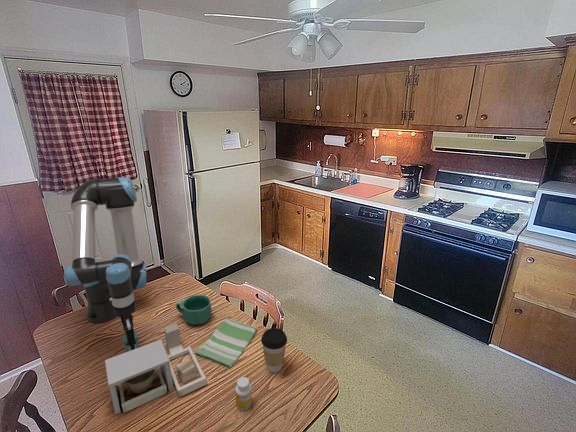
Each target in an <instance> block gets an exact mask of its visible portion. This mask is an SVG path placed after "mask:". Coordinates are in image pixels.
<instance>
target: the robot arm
mask: <svg viewBox="0 0 576 432" xmlns="http://www.w3.org/2000/svg"><path fill="white" fill-rule="evenodd" d="M137 202H138V198H137V193H136V190H135V185H134V183H133V180H132V179H131V178H129V177H122V176H121V177H110V178H93V179H89V180H87V181H85V182H83V183H82V184H80V185H79V186H78V188H77V189H76V190H75V192H74V193H73V196H72V197H71V201H70V209H71V210H72V211H73V223H72V224H73V225H72V227H73V228H72V256H71V257H72V258H71V260H72V263H71V264H72V265H69V266H67V267H65V268H64V271H63V276H64V277H63V278H64V282H65V284H67V285H66V286H69V287H75V286H83V288H84V292H85V296H86V299H87V307H86V311H85V312H86V314H85V315H86V319H87V321H88V322H90V323H92V324H100V323H101V324H102V323H105V322H110V321H112V320H113V319H115V318H120V321H121V324H122V327H123V328H122V329H123V330H124V332H125V333H124V335H125V334H126V335H127V340H128V343H126V346H127V345H128V348H129V351H131V350H134V349H137V347H136V341H135V336H134V331H135V329H134V322H133V321H134V318H133V315H132V314H133V313H134V312H135V311H136V310H137V309H136V308H137V307H136V301H135V295H134V291H137V290H140V289H143V288H145V287H146V286H147V264H146V263H144V261H143V260H142V259H141V258H140V257H139V252H138V251H139V250H138V244H137V239H136V231H135V225H134V224H135V223H134V219H133V211H132V209H133V208H134V207H135V203H137ZM103 205H104V206H105V209H106V210H108V211H109V212H110V216H111V222H112V223H111V224H112V227H113V233H114V234H113V235H114V240H115V241H114V242H115V248H116V251H117V255H115V256H114V257H113V258H112V259H110V260H109V259H108V260H102V261H96V211H97V210H98V206H103Z"/></svg>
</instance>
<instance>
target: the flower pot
mask: <svg viewBox="0 0 576 432" xmlns="http://www.w3.org/2000/svg"><path fill="white" fill-rule="evenodd" d="M155 371H156V368H155V369H153V370H150V371H148V372H146V373H143V374H141V375H138V376H136V377H133V378H131V379H129V380H126V381H124V383H125V385H126V387H127V388H128V389H129V390H131V392H133V393H135V394H139V395H141V394H144V393H146V392H148V390H149V389H150V387H151V386H152V383H153V381H154V378H155V373H156V372H155Z"/></svg>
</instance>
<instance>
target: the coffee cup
mask: <svg viewBox="0 0 576 432" xmlns="http://www.w3.org/2000/svg"><path fill="white" fill-rule="evenodd" d="M260 341H261V344H262V351H263V357H264V363H265V366H266V367H265V368H266V370H267V372H269V373H272V374H277V373H278V372H281V370H282V368H283V362H284V358H285V353H286V345H287V343H288V337H287V335H286V332H285V331H284V330H283V329H281V328H278V327H271V328H268V329H266V330H265V331H264V332H263V334H262V336H261V339H260Z"/></svg>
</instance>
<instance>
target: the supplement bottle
mask: <svg viewBox="0 0 576 432" xmlns="http://www.w3.org/2000/svg"><path fill="white" fill-rule="evenodd" d="M234 392H235V405H236V407H237V409H238V410H241V411H244V410H245V411H246V410H248V409H249V408H250V407H251V405H252V404H253V400H252V399H253V397H252V396H253V395H252V385H251V383H250V380H249V378H248V377H245V376H242V377H240V378H238V380H237V381H236V386H235V391H234Z"/></svg>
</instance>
